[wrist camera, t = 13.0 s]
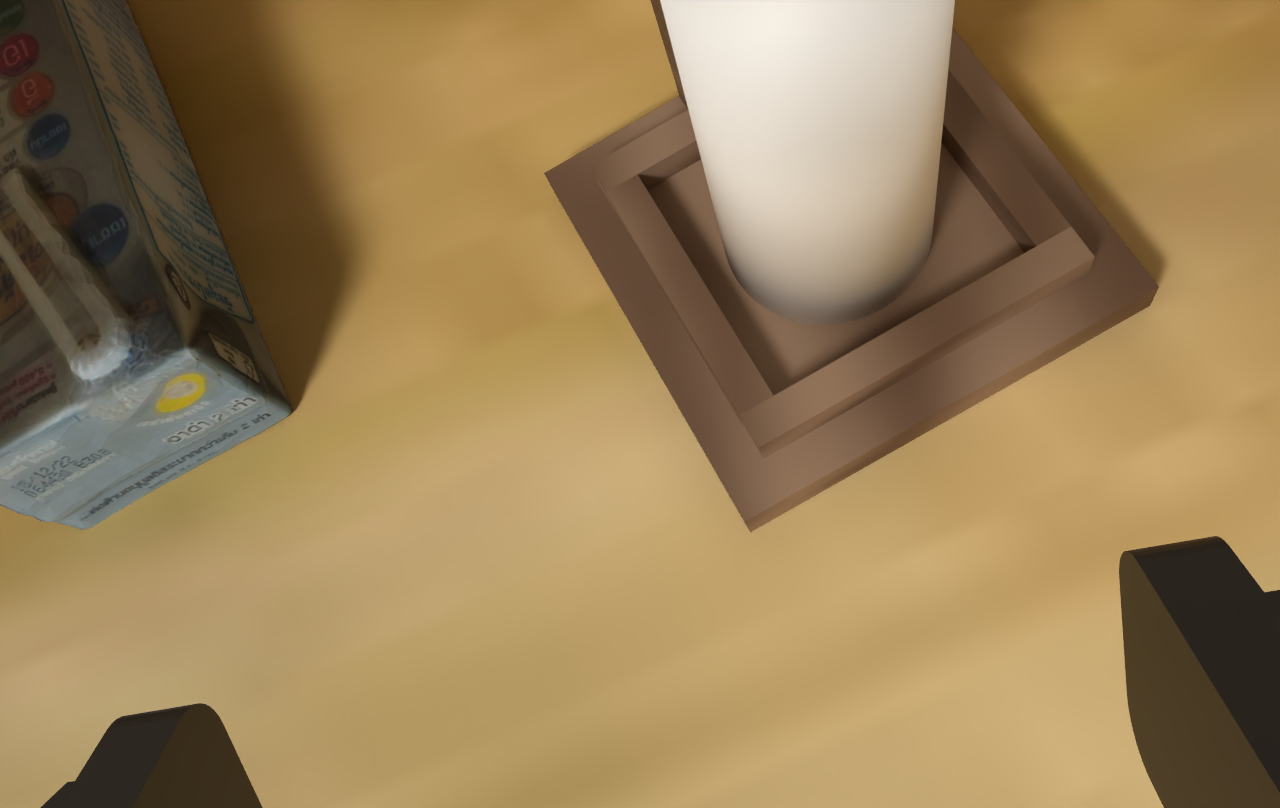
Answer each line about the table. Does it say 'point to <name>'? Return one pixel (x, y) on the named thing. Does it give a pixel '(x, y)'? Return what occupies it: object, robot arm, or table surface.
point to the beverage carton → (109, 277)
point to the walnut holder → (868, 347)
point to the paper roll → (818, 142)
